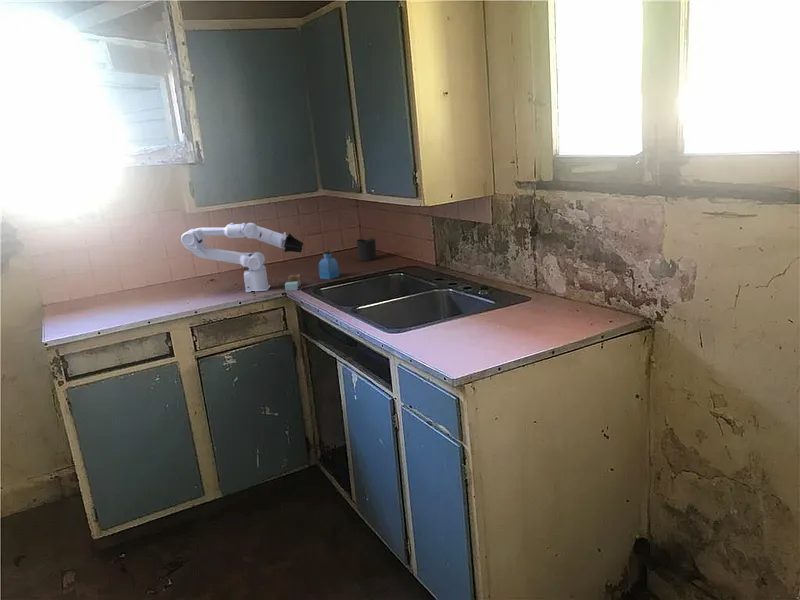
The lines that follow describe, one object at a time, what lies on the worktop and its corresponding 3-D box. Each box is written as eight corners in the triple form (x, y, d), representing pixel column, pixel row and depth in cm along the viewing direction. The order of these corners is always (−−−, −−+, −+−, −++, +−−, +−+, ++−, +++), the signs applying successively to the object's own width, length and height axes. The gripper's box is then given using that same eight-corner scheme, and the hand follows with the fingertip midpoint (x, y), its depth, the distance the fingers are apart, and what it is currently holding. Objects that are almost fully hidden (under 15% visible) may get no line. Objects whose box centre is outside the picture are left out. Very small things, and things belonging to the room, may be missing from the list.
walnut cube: (289, 287, 282) (287, 277, 281) (290, 285, 286) (289, 275, 285) (299, 286, 282) (298, 276, 280) (301, 284, 286) (299, 274, 285)
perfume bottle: (330, 279, 291) (327, 252, 287) (320, 278, 294) (317, 252, 291) (339, 276, 295) (336, 250, 292) (329, 275, 299) (326, 249, 296)
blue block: (285, 291, 276) (284, 284, 275) (287, 288, 281) (286, 282, 280) (297, 290, 276) (296, 283, 275) (298, 287, 281) (298, 281, 280)
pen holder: (368, 256, 333) (366, 237, 330) (380, 258, 326) (379, 238, 324) (354, 260, 326) (352, 240, 324) (367, 262, 320) (365, 242, 317)
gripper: (274, 223, 271) (305, 234, 273) (274, 233, 285) (304, 243, 287) (268, 239, 269) (300, 250, 271) (269, 248, 283) (299, 258, 285)
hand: (302, 247), depth 279 cm, fingers open, 7 cm apart
